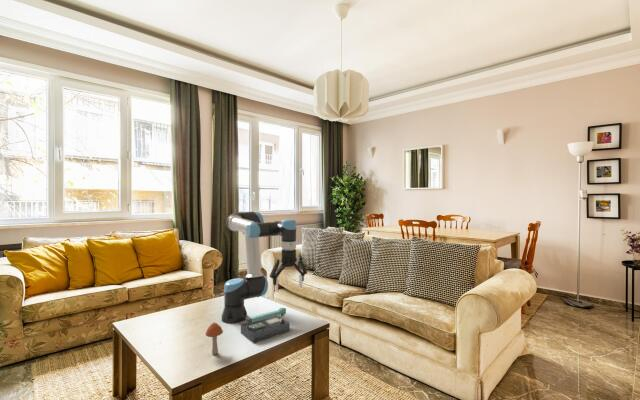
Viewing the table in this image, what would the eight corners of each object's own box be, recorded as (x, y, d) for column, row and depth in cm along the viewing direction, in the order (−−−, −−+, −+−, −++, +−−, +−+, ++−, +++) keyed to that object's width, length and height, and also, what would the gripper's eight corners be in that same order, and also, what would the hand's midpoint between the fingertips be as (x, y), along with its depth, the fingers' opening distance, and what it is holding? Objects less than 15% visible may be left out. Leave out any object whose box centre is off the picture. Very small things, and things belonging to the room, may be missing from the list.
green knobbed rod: (283, 312, 188) (283, 307, 188) (287, 314, 185) (287, 309, 185) (245, 322, 173) (245, 317, 173) (248, 325, 170) (248, 319, 170)
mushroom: (208, 349, 159) (207, 319, 159) (224, 349, 160) (224, 318, 160) (203, 358, 151) (203, 326, 151) (221, 357, 152) (220, 325, 152)
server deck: (240, 333, 178) (240, 319, 178) (277, 322, 192) (277, 309, 192) (253, 343, 166) (253, 328, 166) (291, 331, 180) (291, 317, 180)
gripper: (268, 252, 161) (268, 294, 162) (313, 248, 172) (313, 287, 173) (263, 249, 168) (263, 290, 169) (307, 246, 179) (307, 284, 180)
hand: (288, 289), depth 171 cm, fingers open, 13 cm apart
